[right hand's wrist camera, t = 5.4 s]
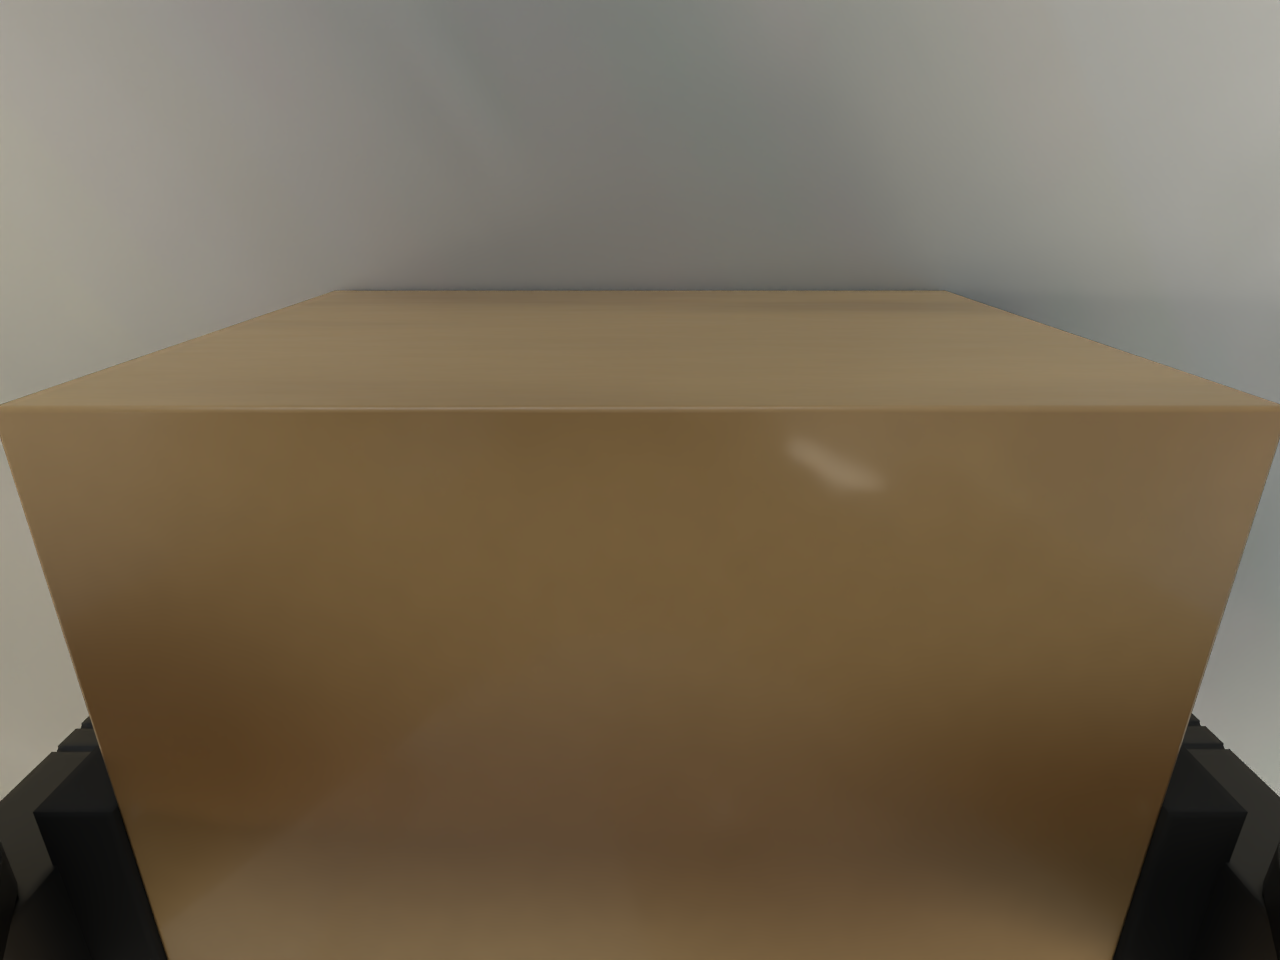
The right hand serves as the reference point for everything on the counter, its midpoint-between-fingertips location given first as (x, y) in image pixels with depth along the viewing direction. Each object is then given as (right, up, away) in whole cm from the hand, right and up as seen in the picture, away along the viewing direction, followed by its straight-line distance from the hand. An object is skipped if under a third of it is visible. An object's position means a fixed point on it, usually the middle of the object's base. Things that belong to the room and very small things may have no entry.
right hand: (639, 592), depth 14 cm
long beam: (0, -34, +14) cm, 36 cm away
